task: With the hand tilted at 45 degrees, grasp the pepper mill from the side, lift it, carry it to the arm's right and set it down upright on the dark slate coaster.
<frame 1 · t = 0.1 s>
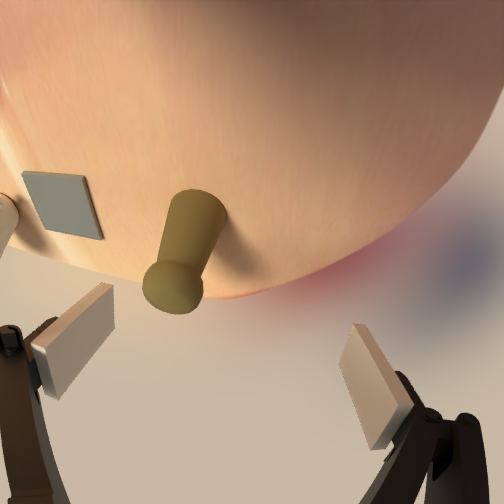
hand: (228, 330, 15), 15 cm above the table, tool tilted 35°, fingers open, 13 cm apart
cup: (8, 200, 32), on the table
coaster: (62, 204, 31), on the table
pepper mill: (198, 211, 31), on the table
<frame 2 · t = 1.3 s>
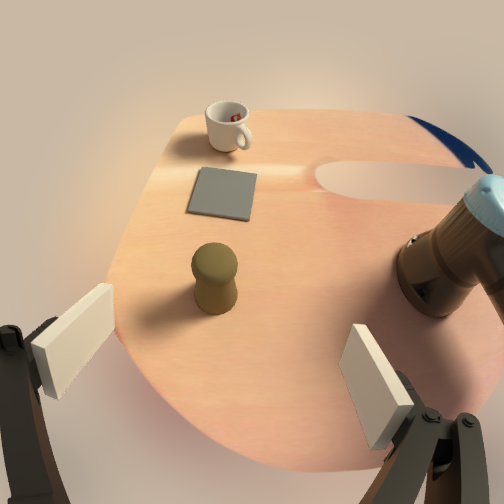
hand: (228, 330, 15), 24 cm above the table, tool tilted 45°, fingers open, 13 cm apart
cup: (230, 147, 57), on the table
coaster: (224, 193, 50), on the table
pepper mill: (216, 294, 42), on the table
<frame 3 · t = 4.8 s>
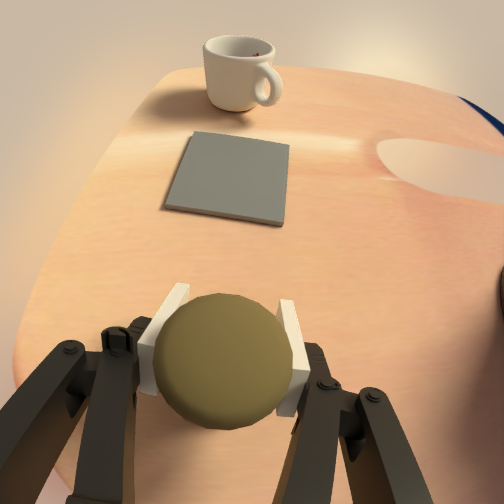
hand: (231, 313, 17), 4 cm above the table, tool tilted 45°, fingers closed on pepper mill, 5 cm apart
cup: (241, 107, 34), on the table
coaster: (233, 174, 27), on the table
pepper mill: (221, 381, 19), on the table, touching gripper
when the fingers open (6 cm above the table, at t = 9.5 s): pepper mill drops 1 cm, resting on coaster.
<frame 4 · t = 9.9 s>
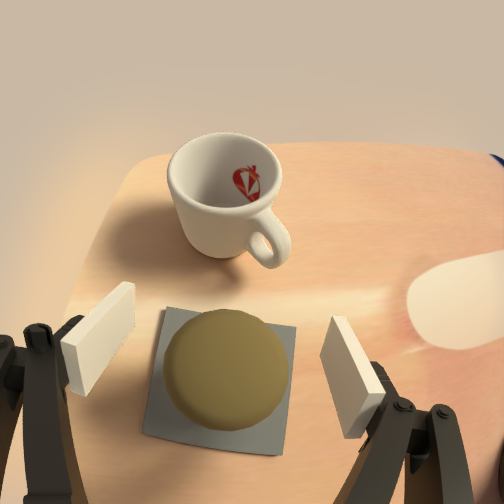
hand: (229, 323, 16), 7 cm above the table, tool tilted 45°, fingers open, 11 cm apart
cup: (231, 242, 26), on the table
coaster: (221, 383, 20), on the table
pepper mill: (222, 384, 20), resting on coaster
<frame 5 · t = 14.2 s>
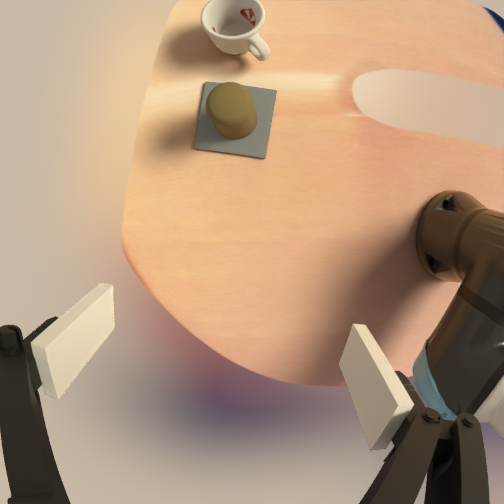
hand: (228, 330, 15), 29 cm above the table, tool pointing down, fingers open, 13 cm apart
cup: (242, 44, 36), on the table
coaster: (235, 118, 39), on the table
pepper mill: (235, 119, 39), resting on coaster
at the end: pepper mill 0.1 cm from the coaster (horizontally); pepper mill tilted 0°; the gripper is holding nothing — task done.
